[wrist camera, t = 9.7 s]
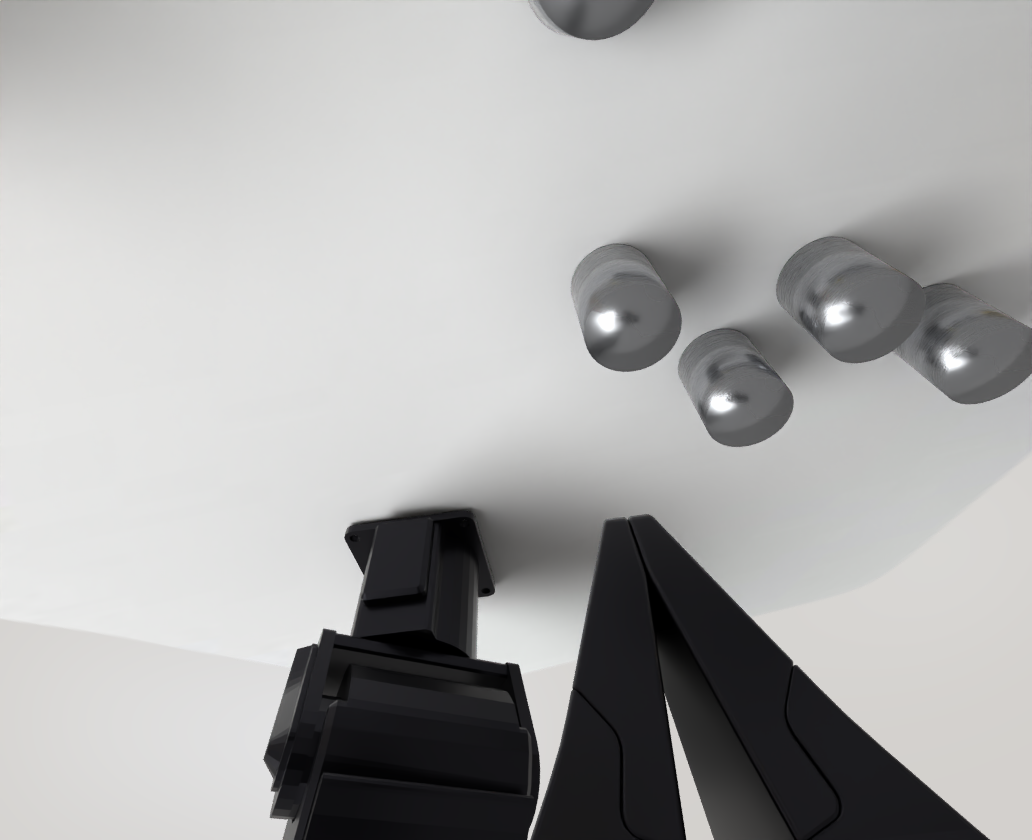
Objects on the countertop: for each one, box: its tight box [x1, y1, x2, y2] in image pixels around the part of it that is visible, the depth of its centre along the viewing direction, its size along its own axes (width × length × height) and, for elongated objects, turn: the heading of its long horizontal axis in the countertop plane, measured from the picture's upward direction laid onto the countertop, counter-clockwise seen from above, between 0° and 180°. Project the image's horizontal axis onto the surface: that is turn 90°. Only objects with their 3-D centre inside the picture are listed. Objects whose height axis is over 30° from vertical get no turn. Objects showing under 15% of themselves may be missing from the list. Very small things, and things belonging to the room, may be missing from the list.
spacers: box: [528, 0, 1032, 447], centre depth 15 cm, size 19×16×4 cm
